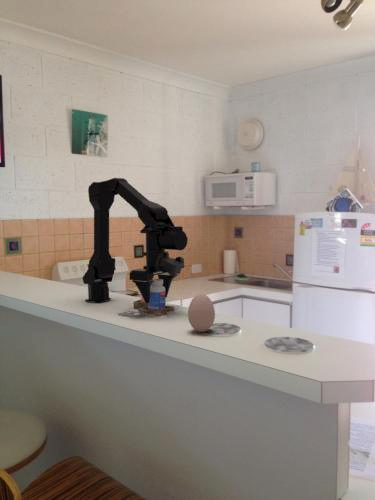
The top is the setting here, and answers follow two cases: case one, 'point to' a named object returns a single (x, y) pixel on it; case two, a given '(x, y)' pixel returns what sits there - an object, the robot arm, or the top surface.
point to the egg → (201, 313)
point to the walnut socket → (154, 312)
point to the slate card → (132, 314)
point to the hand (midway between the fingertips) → (156, 300)
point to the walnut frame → (139, 304)
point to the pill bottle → (157, 296)
